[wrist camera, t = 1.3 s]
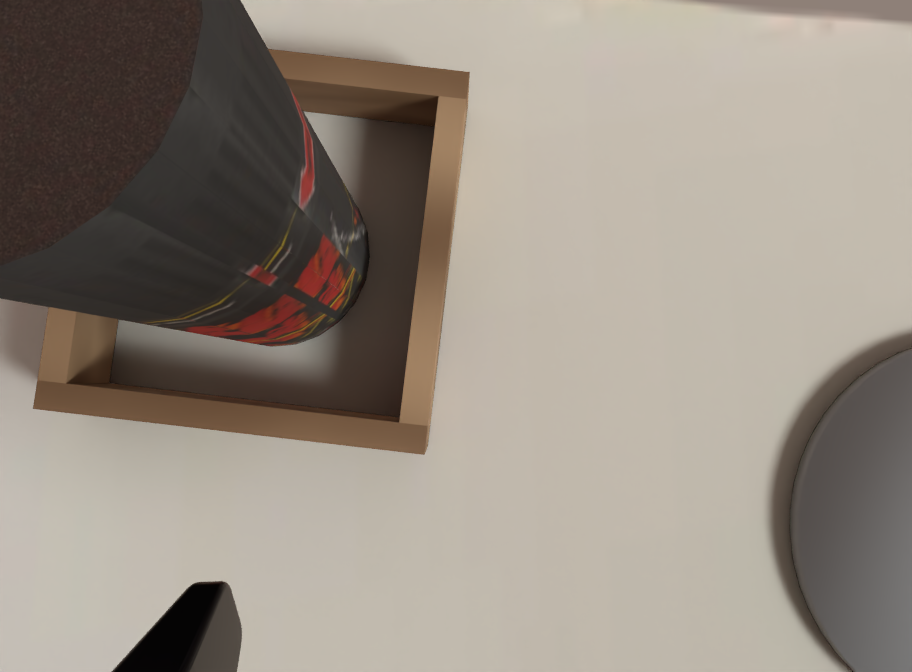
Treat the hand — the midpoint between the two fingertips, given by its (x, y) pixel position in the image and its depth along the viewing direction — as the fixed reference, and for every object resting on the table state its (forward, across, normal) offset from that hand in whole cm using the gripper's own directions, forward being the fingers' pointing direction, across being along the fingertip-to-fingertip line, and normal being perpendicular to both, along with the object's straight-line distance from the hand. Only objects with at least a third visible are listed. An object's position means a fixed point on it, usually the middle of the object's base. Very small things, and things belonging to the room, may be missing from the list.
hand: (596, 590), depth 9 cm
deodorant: (+15, +7, +2) cm, 17 cm away
